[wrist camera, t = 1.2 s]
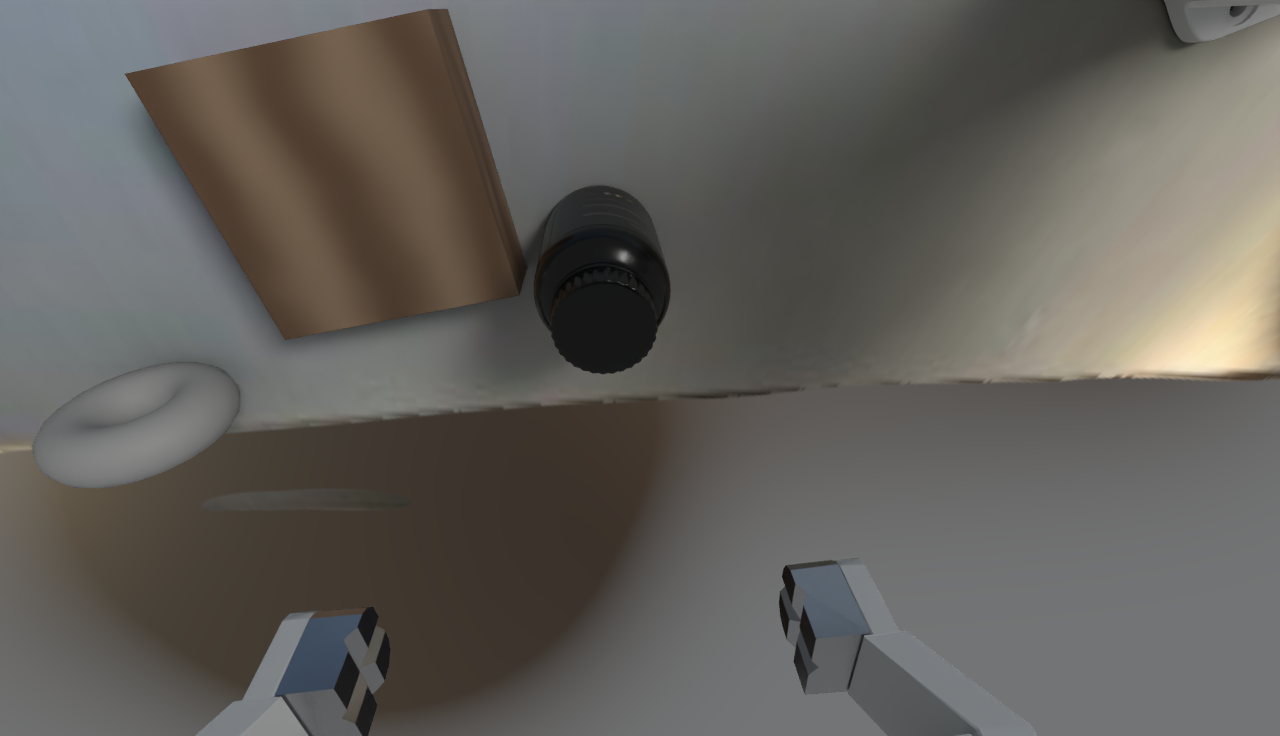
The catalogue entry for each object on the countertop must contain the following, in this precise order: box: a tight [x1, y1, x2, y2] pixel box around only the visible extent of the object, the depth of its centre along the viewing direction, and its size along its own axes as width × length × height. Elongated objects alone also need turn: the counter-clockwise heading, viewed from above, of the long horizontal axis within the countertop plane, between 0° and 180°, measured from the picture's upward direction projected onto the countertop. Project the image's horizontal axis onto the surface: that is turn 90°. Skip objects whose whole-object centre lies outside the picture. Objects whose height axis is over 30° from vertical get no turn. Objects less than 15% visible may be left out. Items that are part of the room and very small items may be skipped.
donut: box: [33, 362, 240, 488], centre depth 34 cm, size 10×4×10 cm, turn 94°
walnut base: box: [125, 9, 527, 340], centre depth 30 cm, size 14×14×4 cm
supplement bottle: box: [534, 186, 671, 374], centre depth 30 cm, size 7×7×12 cm
